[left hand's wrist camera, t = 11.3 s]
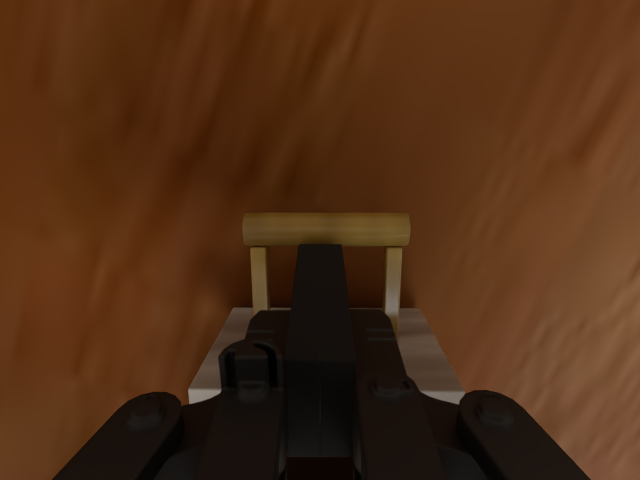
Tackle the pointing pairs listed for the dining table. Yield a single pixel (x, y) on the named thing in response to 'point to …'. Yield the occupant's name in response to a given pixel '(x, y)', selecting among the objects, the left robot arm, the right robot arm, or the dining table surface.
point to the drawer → (408, 323)
